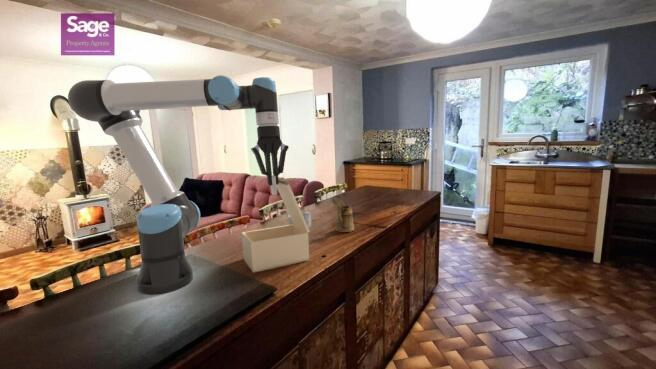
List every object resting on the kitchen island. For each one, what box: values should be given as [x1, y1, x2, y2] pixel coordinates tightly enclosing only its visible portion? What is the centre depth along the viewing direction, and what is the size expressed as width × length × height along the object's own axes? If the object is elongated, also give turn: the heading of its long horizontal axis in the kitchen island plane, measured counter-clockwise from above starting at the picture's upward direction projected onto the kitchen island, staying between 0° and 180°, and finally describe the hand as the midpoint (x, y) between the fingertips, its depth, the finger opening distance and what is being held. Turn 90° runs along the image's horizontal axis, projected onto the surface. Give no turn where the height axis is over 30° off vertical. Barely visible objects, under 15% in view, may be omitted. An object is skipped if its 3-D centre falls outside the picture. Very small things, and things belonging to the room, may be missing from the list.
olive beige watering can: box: [331, 195, 355, 233], centre depth 142 cm, size 9×14×18 cm, turn 150°
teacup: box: [287, 211, 312, 230], centre depth 147 cm, size 14×11×8 cm
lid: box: [276, 177, 311, 234], centre depth 111 cm, size 20×14×1 cm
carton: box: [241, 224, 310, 274], centre depth 110 cm, size 20×14×10 cm
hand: (274, 194), depth 108 cm, fingers closed
